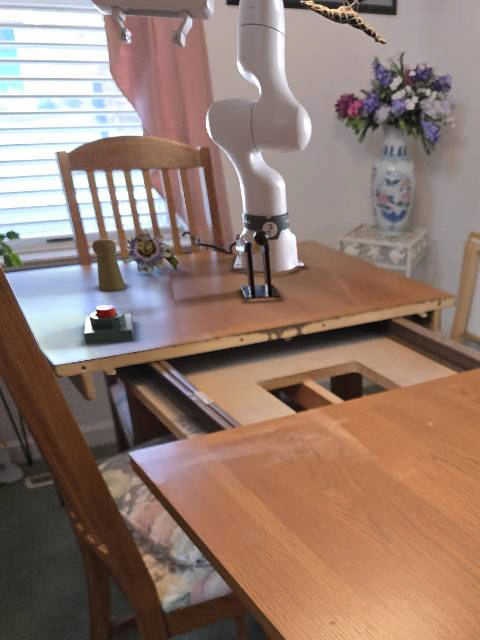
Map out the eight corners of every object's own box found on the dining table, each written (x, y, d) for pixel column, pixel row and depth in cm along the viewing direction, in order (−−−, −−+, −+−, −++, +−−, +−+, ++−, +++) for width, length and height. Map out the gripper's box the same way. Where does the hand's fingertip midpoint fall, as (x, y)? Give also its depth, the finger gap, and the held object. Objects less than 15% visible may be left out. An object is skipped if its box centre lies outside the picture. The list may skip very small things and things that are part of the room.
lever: (270, 243, 154) (268, 228, 154) (255, 244, 153) (253, 228, 153) (263, 256, 166) (262, 242, 166) (250, 257, 166) (248, 242, 165)
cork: (129, 284, 175) (120, 237, 168) (119, 291, 170) (109, 243, 163) (105, 283, 175) (96, 236, 169) (94, 290, 170) (84, 241, 164)
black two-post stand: (280, 300, 168) (276, 244, 161) (246, 302, 166) (241, 245, 159) (273, 289, 176) (270, 234, 168) (241, 291, 173) (236, 236, 166)
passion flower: (153, 295, 186) (119, 260, 177) (149, 276, 193) (115, 241, 184) (187, 269, 184) (153, 232, 175) (181, 251, 191) (149, 215, 182)
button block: (88, 326, 149) (84, 307, 147) (133, 323, 152) (129, 304, 149) (86, 344, 141) (81, 324, 138) (133, 341, 143) (130, 321, 141)
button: (97, 313, 145) (95, 305, 144) (116, 312, 146) (114, 304, 145) (97, 319, 142) (95, 310, 141) (116, 318, 143) (114, 309, 142)
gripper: (221, -36, 118) (218, 56, 121) (104, -41, 120) (103, 49, 122) (207, -60, 112) (204, 37, 115) (84, -66, 114) (84, 30, 116)
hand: (151, 43), depth 119 cm, fingers open, 8 cm apart
